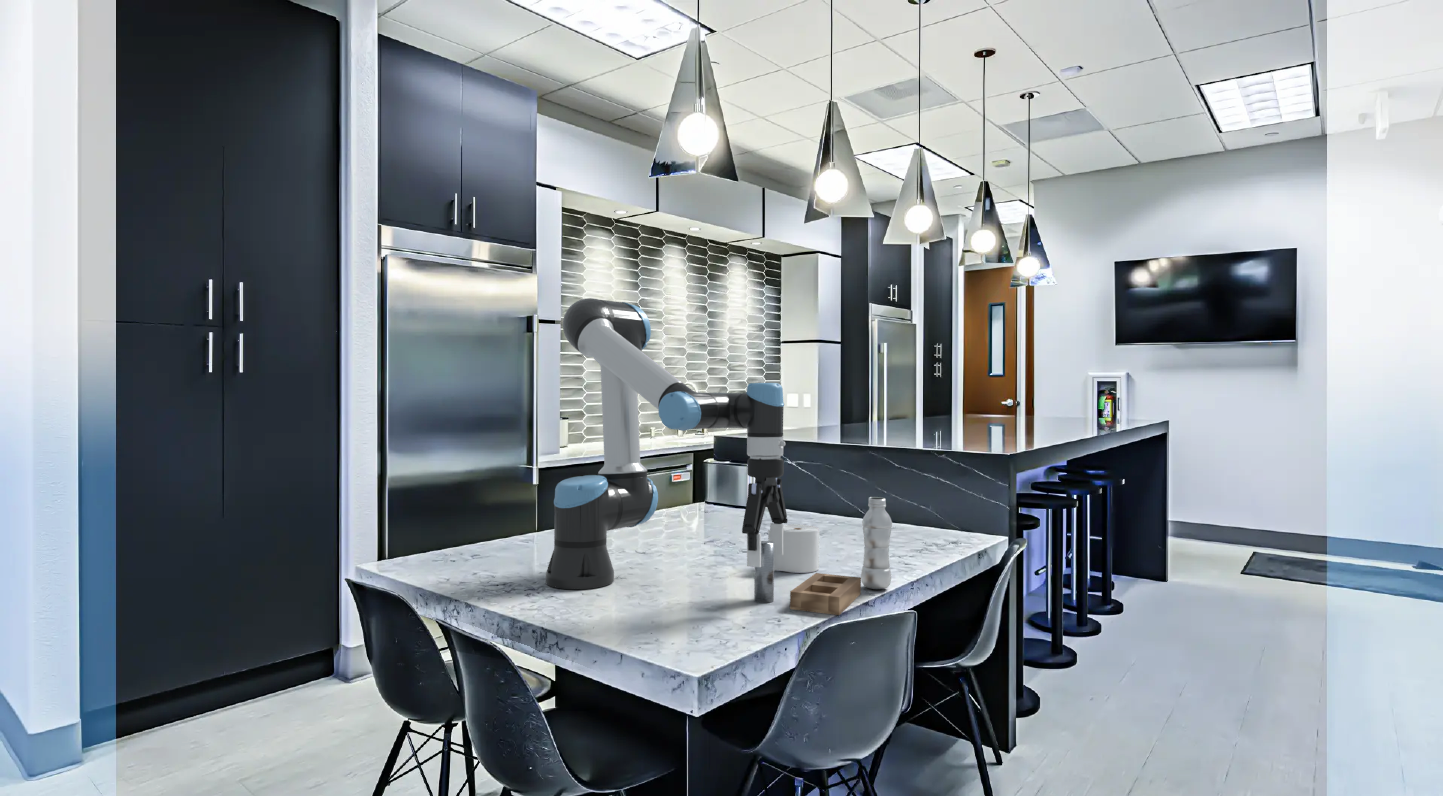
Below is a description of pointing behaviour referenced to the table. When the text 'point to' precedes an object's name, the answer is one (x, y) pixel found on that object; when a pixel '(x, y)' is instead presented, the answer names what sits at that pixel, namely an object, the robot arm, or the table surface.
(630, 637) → the table surface
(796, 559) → the toilet tissue
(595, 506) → the robot arm
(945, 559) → the table surface
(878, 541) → the plastic bottle
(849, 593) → the block
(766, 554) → the pin
